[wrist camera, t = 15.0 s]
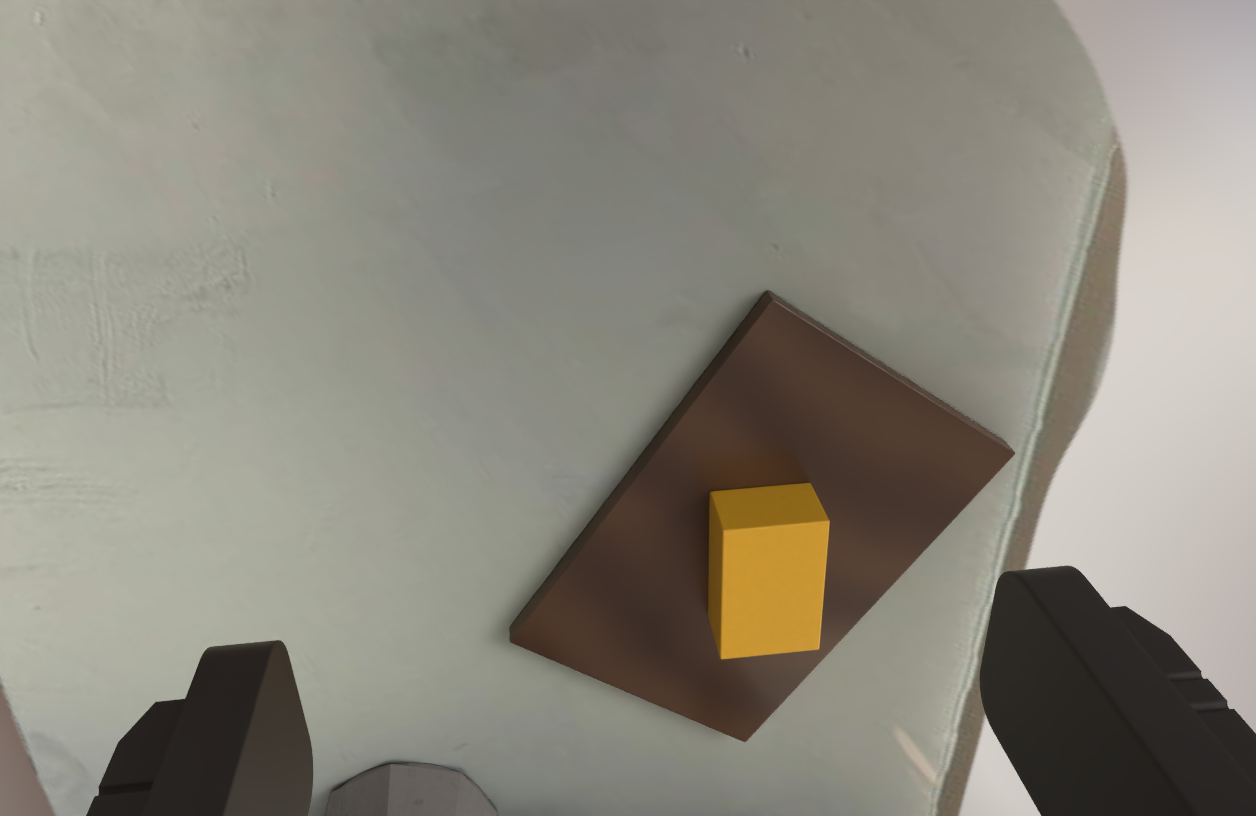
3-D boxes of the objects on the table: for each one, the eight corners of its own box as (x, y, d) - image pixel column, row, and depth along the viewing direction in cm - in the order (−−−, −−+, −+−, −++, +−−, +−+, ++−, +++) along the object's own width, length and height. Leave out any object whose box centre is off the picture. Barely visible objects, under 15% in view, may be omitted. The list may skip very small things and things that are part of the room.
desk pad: (767, 289, 40) (772, 298, 39) (1006, 442, 45) (1016, 453, 44) (509, 627, 47) (509, 642, 46) (741, 728, 52) (745, 743, 51)
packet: (709, 490, 43) (722, 530, 40) (810, 481, 43) (830, 521, 41) (707, 615, 46) (720, 660, 44) (801, 606, 47) (819, 650, 44)
